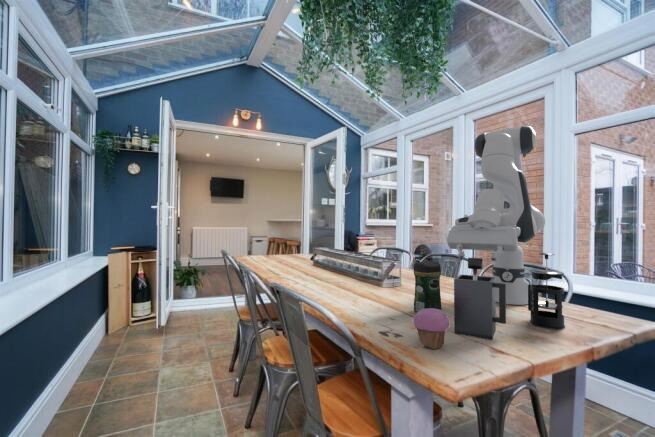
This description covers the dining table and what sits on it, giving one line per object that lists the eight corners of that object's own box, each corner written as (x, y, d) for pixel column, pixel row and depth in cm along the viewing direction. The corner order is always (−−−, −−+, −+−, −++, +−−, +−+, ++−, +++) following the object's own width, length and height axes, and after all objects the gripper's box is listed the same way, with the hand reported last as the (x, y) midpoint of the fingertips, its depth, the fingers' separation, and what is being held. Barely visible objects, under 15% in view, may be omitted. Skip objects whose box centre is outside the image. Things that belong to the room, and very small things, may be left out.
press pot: (460, 324, 102) (460, 274, 102) (507, 332, 95) (506, 278, 95) (454, 333, 94) (454, 278, 94) (504, 342, 87) (504, 283, 87)
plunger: (463, 308, 101) (463, 256, 101) (490, 312, 96) (490, 257, 97) (459, 314, 94) (459, 258, 94) (487, 318, 90) (487, 260, 90)
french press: (575, 328, 99) (574, 254, 99) (550, 331, 96) (549, 254, 97) (541, 317, 110) (540, 251, 110) (518, 319, 108) (518, 251, 108)
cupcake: (454, 346, 84) (454, 308, 84) (441, 356, 77) (441, 314, 78) (422, 338, 90) (422, 302, 90) (407, 346, 83) (407, 308, 83)
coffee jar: (429, 308, 122) (429, 259, 123) (445, 313, 115) (445, 261, 116) (409, 310, 118) (409, 260, 118) (424, 316, 111) (424, 263, 111)
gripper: (522, 232, 99) (517, 267, 92) (455, 231, 112) (446, 262, 105) (520, 218, 96) (514, 253, 88) (450, 219, 109) (440, 250, 101)
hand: (476, 258), depth 97 cm, fingers open, 8 cm apart
